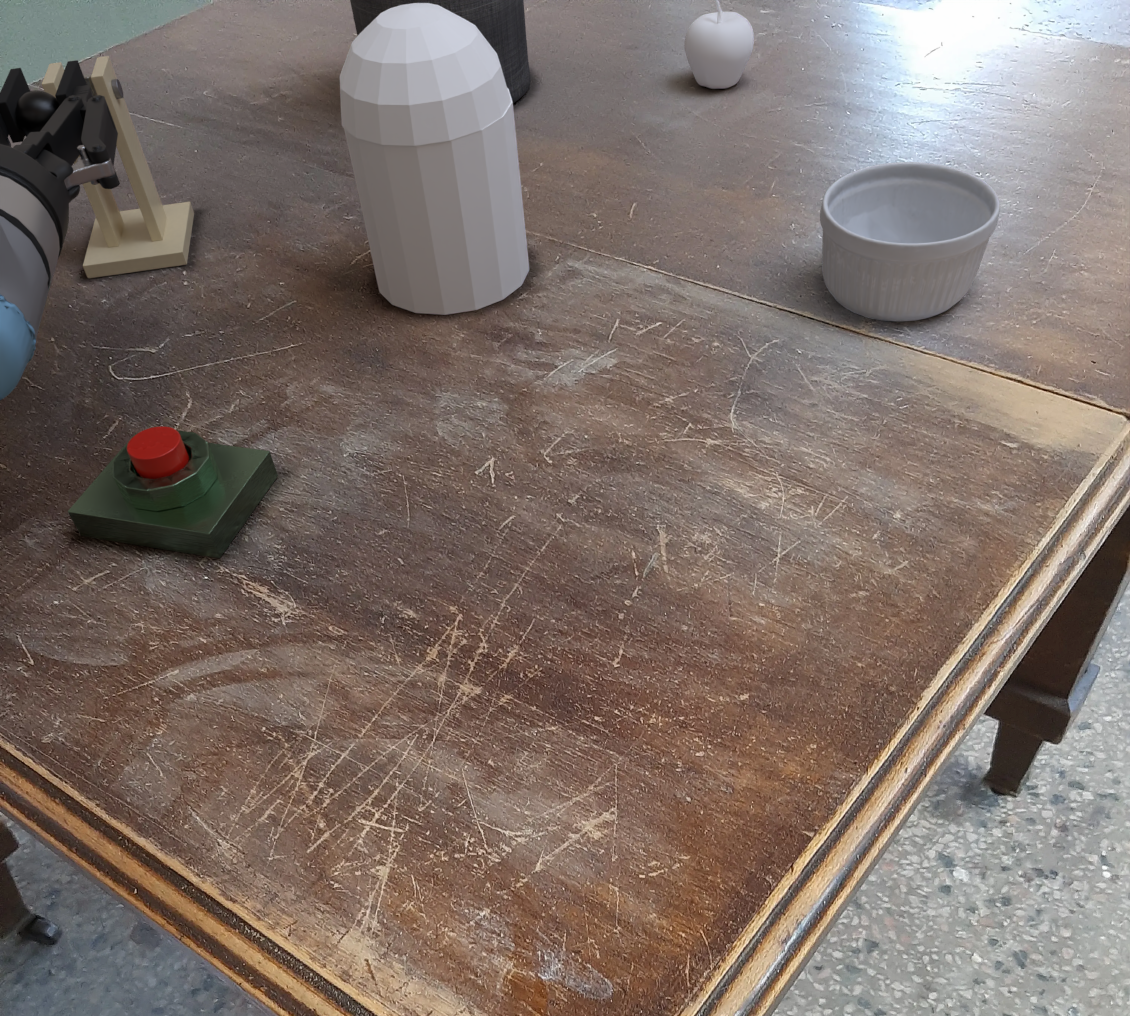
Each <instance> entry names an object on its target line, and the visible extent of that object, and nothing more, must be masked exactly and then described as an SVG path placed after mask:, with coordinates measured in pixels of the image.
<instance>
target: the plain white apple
mask: <svg viewBox="0 0 1130 1016" xmlns="http://www.w3.org/2000/svg"><path fill="white" fill-rule="evenodd" d="M713 2H714V5H715V8H716V10H717V11H714V12H710V13H704V14H702V15H700V16H698V17H697V18H696V19H695V20H693V21H692V22H691V23H690V25H689V26H688V28H687V30H686V33H685V36H684V52H685V56H686V60H687V63H688V65H689V68H690V69H691V73H692V74H693V77H694V79H695V81H696V83H697V84H698V85H699V86H701V87H706V88H708V89H710V90H711V89H712V90H719V89H725V90H726V89H729V88H731V87H733V86H735V85H736V84H738V83H739V81H740V80H741V78H742V76H743V73H744V71H745V69H746V66H747V64H748V63H749V60H750V59H751V56H752V53H753V50H754V44H755V43H754V42H755V33H754V28H753V27H752V24H751V23H750V21H749V20H748V19H747V18H746V17H745V16H743V15H742V14H740V13H738V12H736V11H723V9H722V6H721V3H720V2H719V0H713Z"/></svg>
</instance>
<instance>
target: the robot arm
mask: <svg viewBox="0 0 1130 1016" xmlns="http://www.w3.org/2000/svg"><path fill="white" fill-rule="evenodd" d="M83 75H84V73H83V71H82V68H81V65H80V63H79V60H78V59H77V60H76V59H75V60H69V61H68V60H67V63H66V65H65V68H64V73H63V76H62V78H61V81H60V84H59V86H58V89H57V92H56V94H55V97H56V99H57V101H58V104H59V108H58V109H57V110H56V111H55V113H54V114H53V115H52V117H51V118H50V119H49V121H48V122H47V123H46V124H45V126H44V127H43V128H42V130H41V131H40V132H30V133H29V134H28V136H27V137H26V136H25V135H24V134H23V132H22V131H21V129H20V128H19V126H18V123H17V120H16V114H15V111H16V105H17V102H18V100H19V99H20V97H21V96H22V95H24V94H25V93H27V92H29V91H31V89H30V87H29V85H28V82H27V80H26V77H25V75H24V71H23V70H22V68H21V67H16V68H10V70H9V71H8V74H7V77H6V78H5V81H4V83H3V85H2V88H1V89H0V401H1V400H3V399H5V398H6V397H8V396H9V395H10V394H11V393H12V392H13V391H14V390H15V389H16V387H17V386H18V384H19V382H20V381H21V378H22V376H23V375H24V372H25V370H26V367H27V365H28V364H29V363H30V361H31V360H32V359H33V357H34V355H35V351H36V348H37V347H36V346H37V345H36V343H37V339H38V338H37V337H38V335H39V330H40V327H41V322H42V318H43V314H44V312H45V311H44V310H45V306H46V303H47V301H48V296H49V292H50V288H51V285H52V282H53V279H54V275H55V273H56V269H57V265H58V262H59V261H58V260H59V258H60V256H61V254H62V250H63V246H64V243H65V240H66V236H67V233H68V229H69V221H70V203H71V202H73V200H75V199H76V198H77V197H78V196H79V195H80V192H81V185H83V184H84V183H88V182H91V184H92V185H97V184H99V183H100V185H101V186H102V187H103V188H104V189H111V190H112V189H115V188H117V187H119V186H120V184H121V182H120V179H119V176H118V174H117V171H116V169H115V159H116V150H117V146H116V144H117V137H118V132H117V129H116V127H115V124H114V121H113V118H112V116H111V113H110V110H109V107H108V105H107V102H106V100H105V97H104V96H101V95H96V96H93V95H92V92H91V89H90V87H89V86H88V85H87V84H86V81H85V78H84V76H83ZM9 138H10V139H9ZM10 140H11V141H10ZM16 143H20V144H16ZM12 144H15V145H13V147H12ZM79 155H80V157H79ZM78 157H79V158H78ZM77 158H78V159H77ZM76 160H77V162H76V163H75V164H74V162H75V161H76Z"/></svg>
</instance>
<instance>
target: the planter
mask: <svg viewBox="0 0 1130 1016" xmlns="http://www.w3.org/2000/svg"><path fill="white" fill-rule="evenodd" d="M524 1H525V0H349V2H350V7H351V11H352V17H353V22H354V28H355V31H356V37H357V36H358V35H359V34H360V33H361V32H362V31H363V30H364V29H365V28H366V27H367V26H368V25H369V24H370V23H371V22H372V21H373V20H374V19H375V18H376V17H377V16H378V15H379V14H380V13H382V12H384V11H386V10H388V9H390V8H393V7H396V6H400V5H405V4H412V3H430V4H436V5H439V6H441V7H443V8H445V9H447V10H449V11H450V12H452V13H454V14H456V15H458V16H460V17H462V18H464V19H465V20H467V21H469V22H471V23H472V24H474V25H475V26H476V27H477V28H478V30H479V31H480V32H481V33H482V35H483V36H484V37H485V39H486V40H487V41H488V43H489V44H490V45H491V47H492V48H493V49H494V50H495V52H496V53H497V55H498V58H499V62H500V65H501V68H502V72H503V75H504V79H505V82H506V86H507V88H508V89H509V92H510V95H511V98H512V102H513V104H514V103H516V102H517V101H519V100H520V99H521V98H522V97H524V95H525V94H526V93H527V92H528V90H529V88H530V86H531V81H532V80H531V71H530V70H531V69H530V63H529V54H528V53H529V51H528V40H527V28H526V16H525V2H524Z"/></svg>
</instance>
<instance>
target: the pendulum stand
mask: <svg viewBox="0 0 1130 1016" xmlns="http://www.w3.org/2000/svg"><path fill="white" fill-rule="evenodd" d="M64 70H65V68H64V66H63V63H62V62H59V61H58V62H53V63H49V64H48V66H47V69H46V72H45V75H44V76H43V79H42V82H41V87H42V89H43V91H44V92H47V93H49V94H51V95H53V96H54V97H55V94H56V92H57V89H58V86H59V84H60V81H61V78H62V76H63V73H64ZM91 74H92V75H91V80H92V83H93V85H94V88H95V91H96V93H97V95H101V96H104V97H105V100H106V102H107V105H108V107H109V110H110V113H111V116H112V118H113V121H114V124H115V127H116V129H117V132H118V137H117V144H116V150H117V152H118V154H119V157H120V160H121V163H122V165H123V168H124V170H125V173H126V176H127V178H128V181H129V183H130V187H131V189H132V192H133V194H134V198H135V199H136V202H137V205H138V208H134V209H133V208H132V209H126V210H120V209H119V206H118V204H117V201H116V199H115V197H114V194H113V191H112V189H104V188H103V187H102V186H101V185H100V183H99V184H97V185H92V184H91V182H88V183H84V184H82V187H83V190H84V192H85V194H86V197H87V199H88V202H89V204H90V207H91V209H92V211H93V214H94V216H95V219H94V222H93V225H92V229H91V233H90V237H89V241H88V243H87V244H88V245H87V248H86V252H85V255H84V259H83V263H82V268H83V270H84V273H85V275H86V277H87V279H95V278H101V277H102V278H103V277H109V276H115V275H123V274H129V273H138V272H144V271H150V270H151V271H152V270H158V269H159V270H160V269H165V268H173V267H179V266H187V265H188V260H189V252H190V245H191V240H192V239H191V237H192V232H193V225H194V219H195V211H194V209H193V206H192V205H193V204H192V203H191V201H183V202H176V203H170V204H163V203H162V200H161V197H160V195H159V191H158V189H157V186H156V183H155V180H154V178H153V175H152V172H151V169H150V166H149V164H148V162H147V161H148V160H147V159H146V156H145V153H144V151H143V148H142V145H141V142H140V138H139V136H138V133H137V130H136V127H135V125H134V122H133V119H132V117H131V114H130V111H129V109H128V105H127V103H126V100H125V97H124V90H123V86H122V83H121V81H120V80H119V79H118V78H117V75H116V71H115V69H114V66H113V64H112V60H111V58H110V56H109V55H105V56H97V57H96V60H95V63H94V66H93V69H92V72H91ZM55 98H56V97H55ZM79 157H80V155H79ZM79 157H78V158H79ZM78 158H77V159H78ZM76 162H77V160H76V161H75V162H74V164H75V163H76ZM74 164H73V165H74Z"/></svg>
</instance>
